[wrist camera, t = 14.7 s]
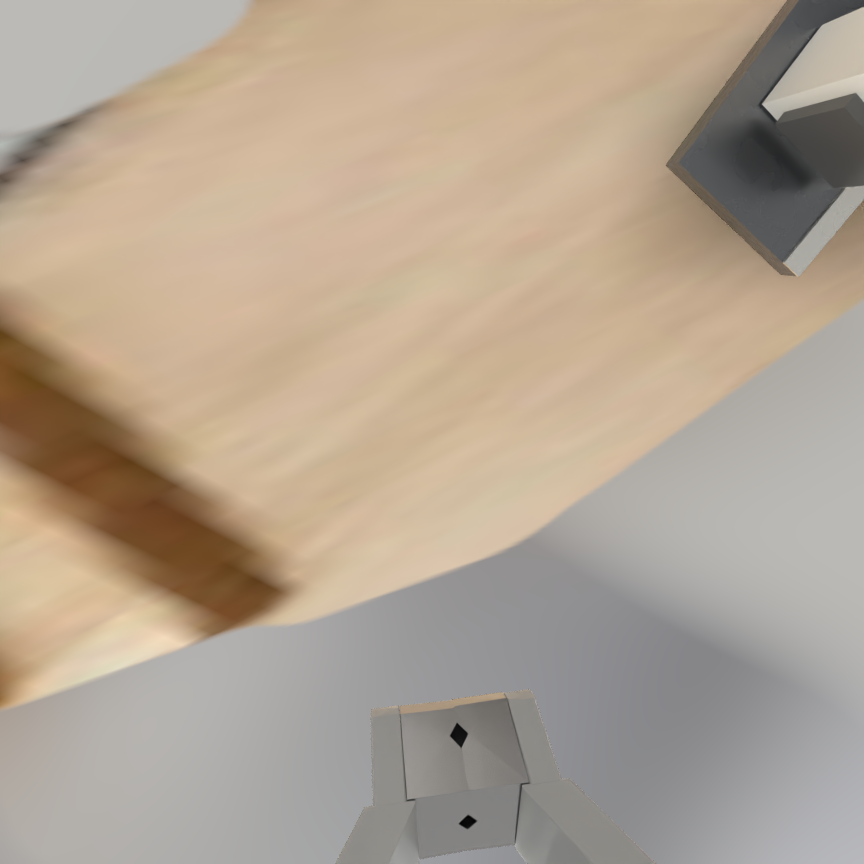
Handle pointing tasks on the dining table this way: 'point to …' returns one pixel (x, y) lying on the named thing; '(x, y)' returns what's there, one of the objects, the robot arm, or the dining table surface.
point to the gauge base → (767, 151)
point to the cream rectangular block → (827, 101)
